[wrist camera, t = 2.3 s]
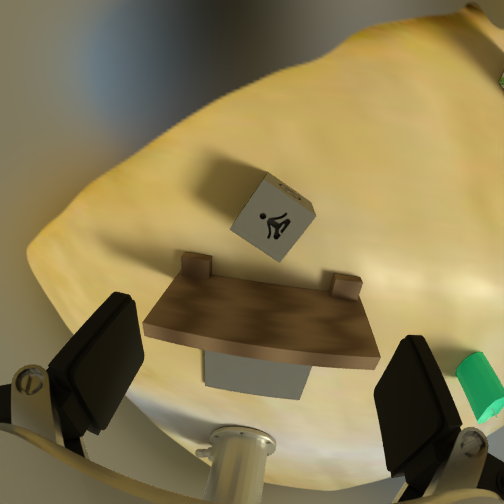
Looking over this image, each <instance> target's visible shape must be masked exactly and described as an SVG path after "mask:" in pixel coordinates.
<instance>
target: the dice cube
mask: <svg viewBox="0 0 504 504" xmlns="http://www.w3.org/2000/svg"><path fill="white" fill-rule="evenodd" d="M315 217H316V214H315V211H314V209H313V206H312V203H311V202H310V201H309V200H307V199H306V198H304V197H303V196H302V195H300V194H299V193H297V192H296V191H295V190H293V189H292V188H290V187H289V186H288V185H286V184H285V183H283V182H282V181H280V180H279V179H277V178H276V177H274V176H273V175H272V174H270V173H269V172H268V173H267V174H266V176H265V177H264V179H263V180H262V182H261V183H260V184H259V186H258V187H257V189H256V190H255V192H254V193H253V195H252V196H251V197H250V199H249V200H248V202H247V203H246V205H245V206H244V208H243V209H242V211H241V212H240V214H239V215H238V217H237V218H236V220H235V222H234V223H233V225H232V226H231V228H230V230H231V231H233V232H234V233H236V234H237V235H239V236H240V237H242V238H243V239H245V240H246V241H248V242H249V243H251V244H252V245H254V246H255V247H257V248H258V249H260V250H261V251H263V252H264V253H266V254H267V255H269V256H270V257H272V258H273V259H275V260H276V261H278V262H279V263H280V262H281V260H282V259H283V258H284V257H285V255H286V254H287V253H288V252H289V250H290V249H291V248H292V247H293V245H294V244H295V243H296V241H297V240H298V239H299V238H300V236H301V235H302V234H303V233H304V231H305V230H306V229H307V227H308V226H309V225H310V224H311V222H312V221H313V220H314V218H315Z"/></svg>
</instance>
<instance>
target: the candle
mask: <svg viewBox="0 0 504 504" xmlns="http://www.w3.org/2000/svg"><path fill="white" fill-rule="evenodd" d="M456 376H457V378H458V380H459V382H460V384H461V386H462V388H463V390H464V392H465V394H466V396H467V399H468V401H469V403H470V405H471V408H472V410H473V412H474V415H475V417H476V419H477V422H478V424H481V423H484V422H485V421H487V420H488V419H489V418H490V417H492V416H494V415H495V416H496V414H498V413H499V412H500V411H501V410H502V408H503V407H504V388H503V386H502V384H501V382H500V380H499V379H498V377H497V375H496V374H495V372H494V370H493V368H492V367H491V365H490V364H489V362H488V360H487V359H486V357H485V355H484V354H483V353H482V352H476V353H474V354H471V355H470V356H468V357H467V358H466V359H465V360H463V362H462V363H461V364H460V365H459V367H458V368H457V371H456ZM496 418H497V416H496Z"/></svg>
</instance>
